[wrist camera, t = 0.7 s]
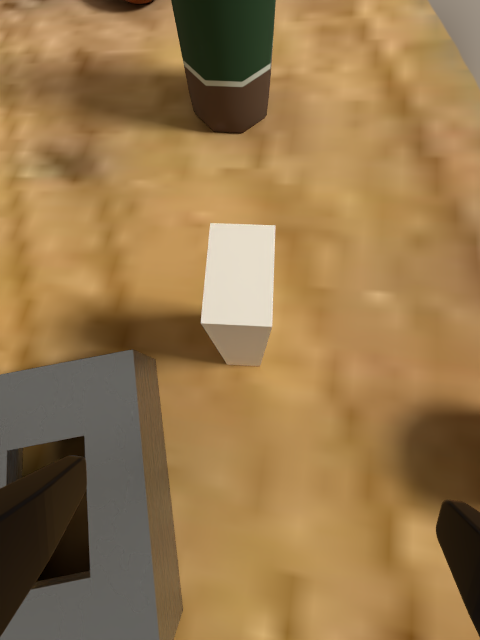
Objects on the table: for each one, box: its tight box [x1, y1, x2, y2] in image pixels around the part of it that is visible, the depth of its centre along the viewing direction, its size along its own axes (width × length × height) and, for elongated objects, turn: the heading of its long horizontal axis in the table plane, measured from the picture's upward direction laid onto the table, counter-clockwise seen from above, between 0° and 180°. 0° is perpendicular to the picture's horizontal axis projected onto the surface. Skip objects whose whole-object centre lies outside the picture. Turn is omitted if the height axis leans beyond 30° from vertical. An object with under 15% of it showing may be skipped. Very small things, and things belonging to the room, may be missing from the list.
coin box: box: [0, 350, 183, 640], centre depth 18 cm, size 16×11×4 cm
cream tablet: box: [201, 223, 275, 366], centre depth 17 cm, size 4×2×12 cm, turn 177°
